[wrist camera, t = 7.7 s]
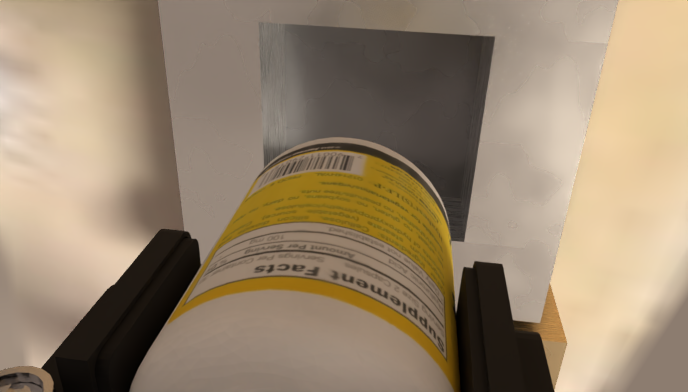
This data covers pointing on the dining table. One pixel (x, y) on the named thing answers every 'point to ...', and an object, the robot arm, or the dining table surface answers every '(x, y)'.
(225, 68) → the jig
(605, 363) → the dining table surface
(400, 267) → the supplement bottle
